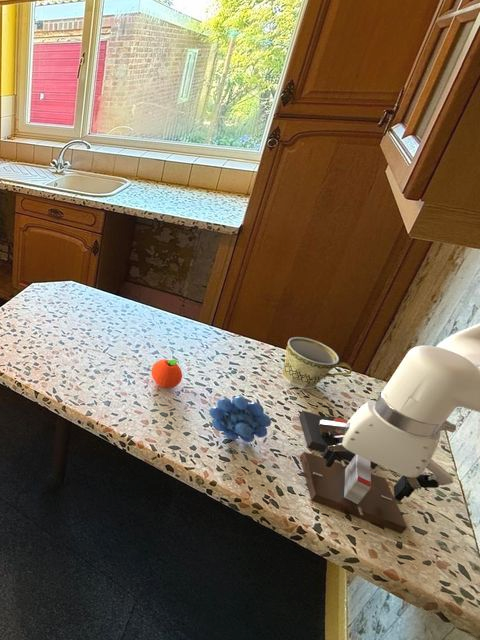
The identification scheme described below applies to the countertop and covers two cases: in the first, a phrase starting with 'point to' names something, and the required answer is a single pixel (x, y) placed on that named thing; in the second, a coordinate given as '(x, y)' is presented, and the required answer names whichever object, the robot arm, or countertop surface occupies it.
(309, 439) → the button box
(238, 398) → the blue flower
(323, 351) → the ceramic cup
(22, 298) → the countertop surface
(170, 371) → the clementine
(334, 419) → the button
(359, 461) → the grey block
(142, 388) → the countertop surface
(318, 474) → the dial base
